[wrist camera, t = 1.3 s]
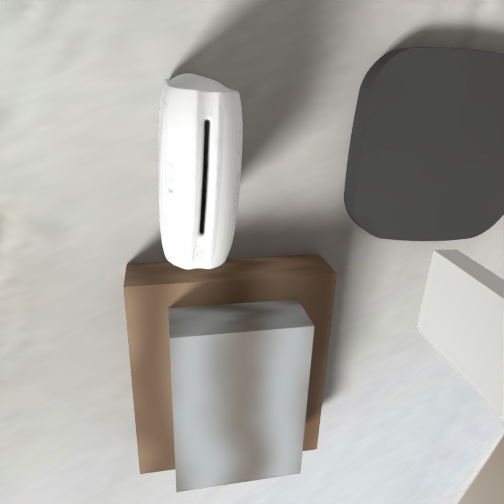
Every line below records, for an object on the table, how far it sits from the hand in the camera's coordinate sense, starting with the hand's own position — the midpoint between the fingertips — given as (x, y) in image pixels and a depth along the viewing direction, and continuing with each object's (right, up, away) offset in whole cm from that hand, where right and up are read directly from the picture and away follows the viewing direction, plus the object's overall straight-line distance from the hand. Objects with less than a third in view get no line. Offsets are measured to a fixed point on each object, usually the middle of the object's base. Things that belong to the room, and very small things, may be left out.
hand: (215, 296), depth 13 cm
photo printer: (-4, +9, +20) cm, 23 cm away
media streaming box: (+16, +10, +24) cm, 31 cm away
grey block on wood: (-1, -8, +27) cm, 28 cm away
